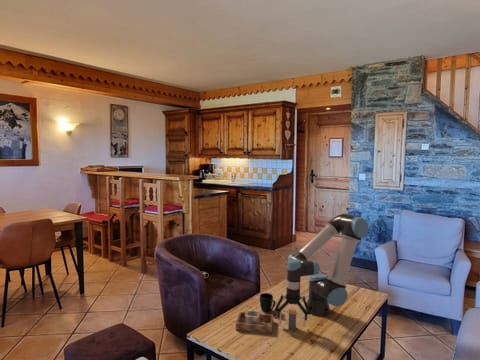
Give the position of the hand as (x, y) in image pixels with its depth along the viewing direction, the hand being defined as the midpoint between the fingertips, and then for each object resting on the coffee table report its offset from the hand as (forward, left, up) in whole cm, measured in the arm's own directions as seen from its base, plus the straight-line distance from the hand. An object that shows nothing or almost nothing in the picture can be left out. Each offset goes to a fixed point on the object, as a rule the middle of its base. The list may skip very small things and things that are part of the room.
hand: (291, 324), depth 184 cm
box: (+21, +1, -2) cm, 21 cm away
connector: (0, 0, -3) cm, 3 cm away
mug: (+15, -18, -3) cm, 24 cm away
